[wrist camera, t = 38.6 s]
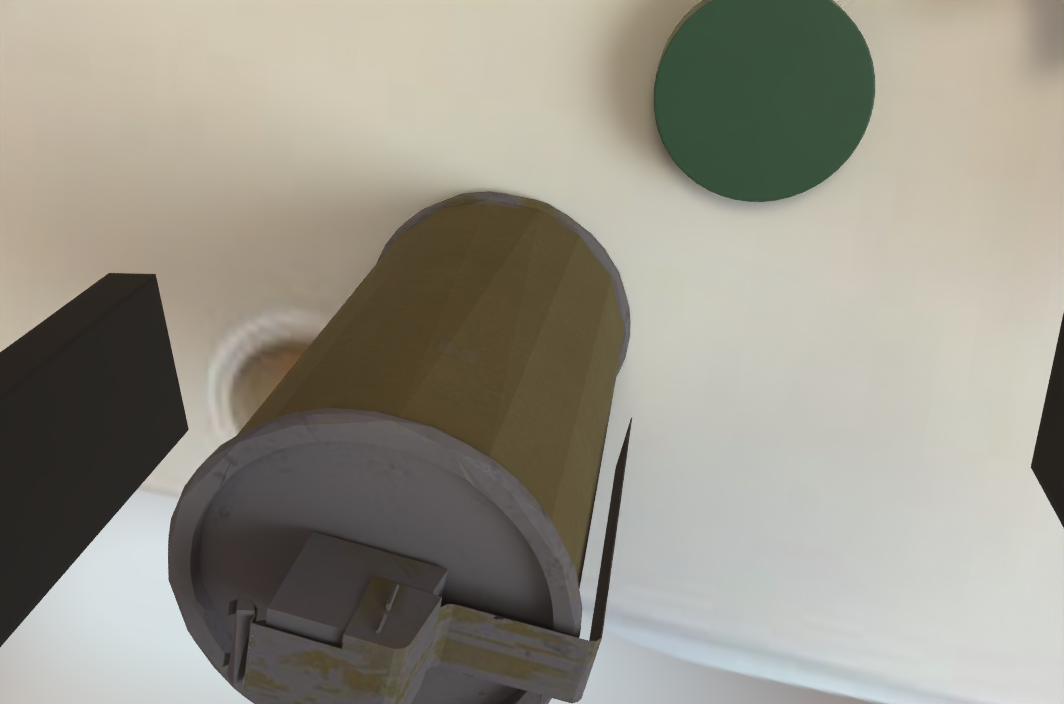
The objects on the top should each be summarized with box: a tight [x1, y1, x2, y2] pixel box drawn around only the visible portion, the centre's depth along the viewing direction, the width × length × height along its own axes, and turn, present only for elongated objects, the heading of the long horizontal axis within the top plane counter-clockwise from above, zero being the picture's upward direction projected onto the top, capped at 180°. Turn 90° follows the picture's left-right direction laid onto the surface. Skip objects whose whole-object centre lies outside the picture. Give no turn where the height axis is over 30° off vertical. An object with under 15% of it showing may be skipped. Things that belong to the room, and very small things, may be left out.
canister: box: [168, 192, 632, 704], centre depth 31 cm, size 11×10×20 cm
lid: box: [654, 0, 875, 202], centre depth 34 cm, size 7×7×2 cm
